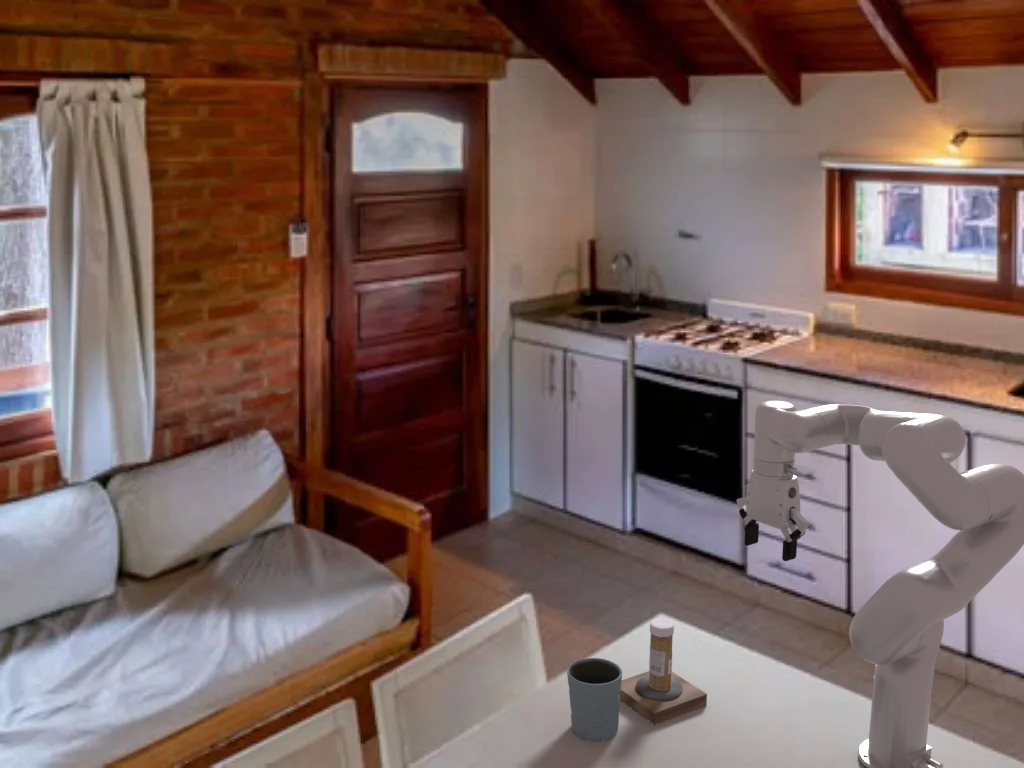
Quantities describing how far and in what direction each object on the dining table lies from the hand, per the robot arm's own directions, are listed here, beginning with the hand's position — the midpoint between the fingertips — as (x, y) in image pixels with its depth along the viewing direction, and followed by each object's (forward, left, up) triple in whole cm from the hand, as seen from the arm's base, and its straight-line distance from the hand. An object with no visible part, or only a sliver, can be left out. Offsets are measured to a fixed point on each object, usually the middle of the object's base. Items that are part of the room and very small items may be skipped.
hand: (769, 551), depth 209 cm
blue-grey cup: (+6, +37, -30) cm, 48 cm away
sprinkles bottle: (+8, +20, -27) cm, 34 cm away
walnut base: (+8, +20, -30) cm, 36 cm away
